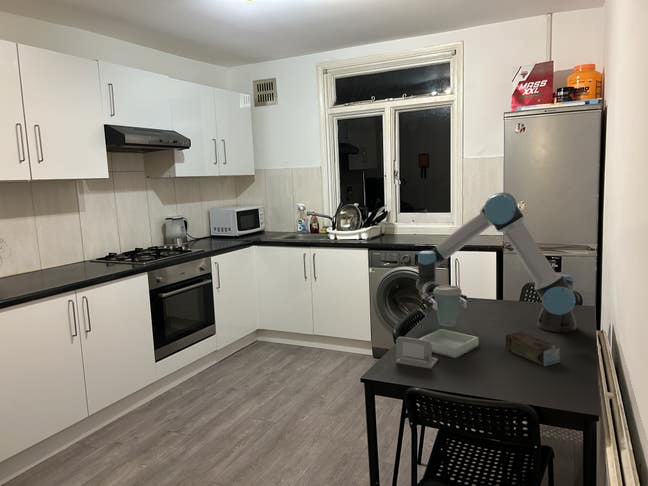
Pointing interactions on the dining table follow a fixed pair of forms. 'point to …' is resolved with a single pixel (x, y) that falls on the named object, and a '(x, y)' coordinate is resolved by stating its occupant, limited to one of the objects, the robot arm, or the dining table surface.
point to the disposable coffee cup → (447, 304)
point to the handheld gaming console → (414, 352)
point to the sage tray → (451, 342)
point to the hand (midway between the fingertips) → (451, 305)
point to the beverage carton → (533, 348)
